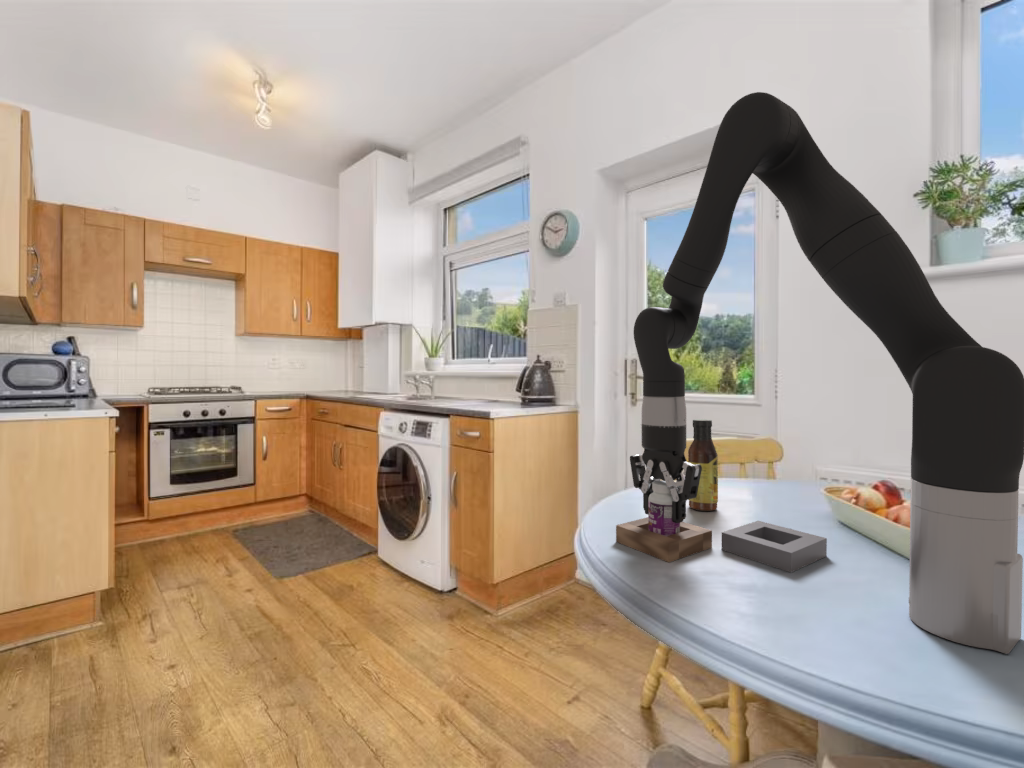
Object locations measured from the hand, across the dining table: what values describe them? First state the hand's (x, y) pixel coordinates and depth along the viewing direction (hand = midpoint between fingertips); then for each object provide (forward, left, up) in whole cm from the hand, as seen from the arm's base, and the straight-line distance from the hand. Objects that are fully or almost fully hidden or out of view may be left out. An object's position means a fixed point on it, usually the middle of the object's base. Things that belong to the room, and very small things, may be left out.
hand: (663, 517), depth 85 cm
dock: (0, 0, -5) cm, 5 cm away
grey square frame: (-13, -12, -5) cm, 18 cm away
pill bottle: (0, 0, -4) cm, 4 cm away
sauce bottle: (+10, -26, -5) cm, 28 cm away
